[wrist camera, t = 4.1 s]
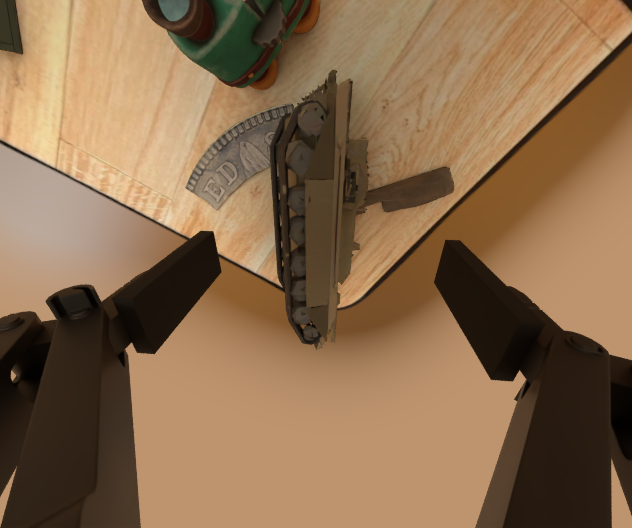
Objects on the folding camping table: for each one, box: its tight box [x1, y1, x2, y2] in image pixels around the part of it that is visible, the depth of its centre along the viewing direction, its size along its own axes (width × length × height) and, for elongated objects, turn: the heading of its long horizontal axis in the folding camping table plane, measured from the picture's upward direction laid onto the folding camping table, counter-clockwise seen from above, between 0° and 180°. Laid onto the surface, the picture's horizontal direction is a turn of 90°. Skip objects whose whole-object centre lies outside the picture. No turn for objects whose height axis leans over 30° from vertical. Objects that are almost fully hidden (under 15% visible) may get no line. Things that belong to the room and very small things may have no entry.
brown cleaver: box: [356, 167, 454, 215], centre depth 23 cm, size 12×3×1 cm, turn 109°
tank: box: [269, 70, 407, 350], centre depth 21 cm, size 9×22×10 cm
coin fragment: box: [185, 104, 295, 210], centre depth 23 cm, size 13×5×1 cm, turn 121°
